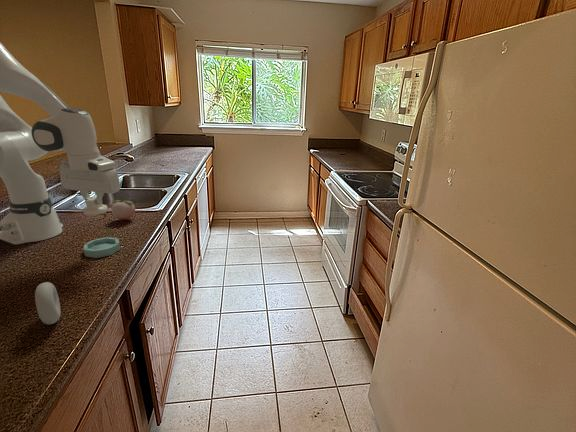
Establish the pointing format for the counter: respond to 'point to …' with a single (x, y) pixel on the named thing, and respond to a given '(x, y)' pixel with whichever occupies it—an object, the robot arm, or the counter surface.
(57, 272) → the counter surface
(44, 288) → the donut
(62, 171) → the robot arm
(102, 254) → the studded octagonal holder
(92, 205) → the cap
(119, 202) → the decorative fruit
